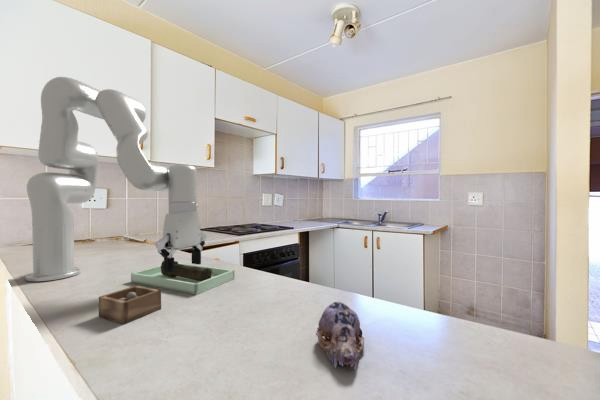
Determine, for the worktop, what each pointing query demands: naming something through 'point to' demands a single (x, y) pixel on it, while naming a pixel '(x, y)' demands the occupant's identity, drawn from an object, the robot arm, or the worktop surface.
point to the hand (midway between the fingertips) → (183, 267)
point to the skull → (340, 334)
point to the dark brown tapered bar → (188, 272)
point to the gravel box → (129, 304)
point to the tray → (182, 279)
